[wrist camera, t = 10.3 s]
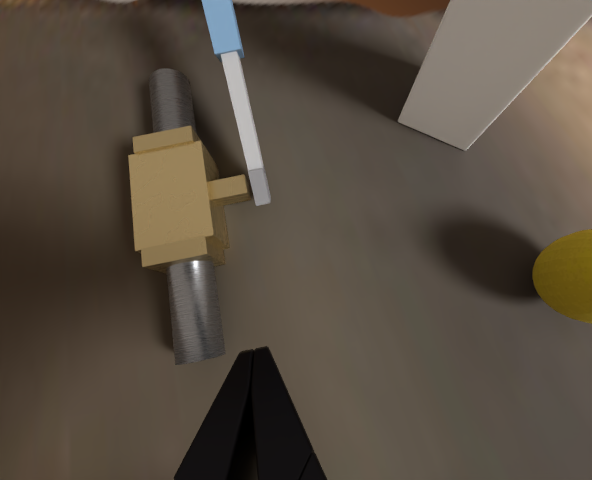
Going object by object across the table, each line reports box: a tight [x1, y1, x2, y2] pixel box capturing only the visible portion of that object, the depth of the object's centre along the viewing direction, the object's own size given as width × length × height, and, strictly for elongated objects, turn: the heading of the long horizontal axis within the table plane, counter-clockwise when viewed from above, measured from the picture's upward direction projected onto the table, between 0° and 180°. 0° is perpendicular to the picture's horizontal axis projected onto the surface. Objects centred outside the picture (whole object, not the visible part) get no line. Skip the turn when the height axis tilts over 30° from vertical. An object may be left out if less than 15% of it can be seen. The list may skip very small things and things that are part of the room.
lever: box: [202, 0, 271, 206], centre depth 20 cm, size 3×3×18 cm
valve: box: [128, 69, 251, 365], centre depth 23 cm, size 22×8×4 cm, turn 11°
